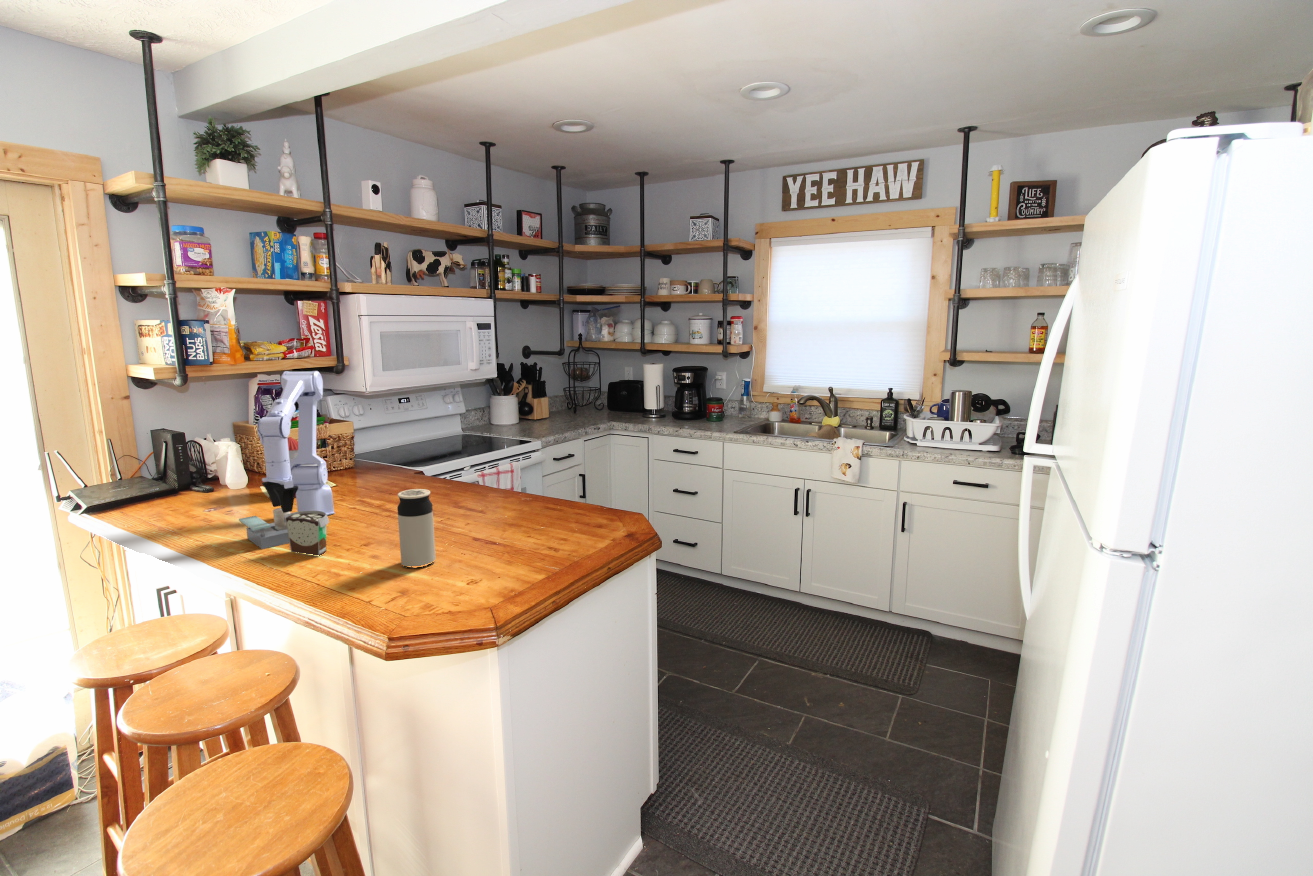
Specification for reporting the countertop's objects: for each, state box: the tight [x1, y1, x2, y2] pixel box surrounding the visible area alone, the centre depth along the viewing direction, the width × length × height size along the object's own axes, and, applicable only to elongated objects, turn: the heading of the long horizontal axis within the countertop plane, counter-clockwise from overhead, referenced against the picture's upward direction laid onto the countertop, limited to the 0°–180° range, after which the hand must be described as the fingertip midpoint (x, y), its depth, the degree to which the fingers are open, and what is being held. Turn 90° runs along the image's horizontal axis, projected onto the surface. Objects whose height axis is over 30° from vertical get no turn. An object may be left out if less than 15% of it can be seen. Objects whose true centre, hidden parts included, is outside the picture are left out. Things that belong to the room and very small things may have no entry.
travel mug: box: [397, 488, 437, 567], centre depth 155 cm, size 8×8×18 cm
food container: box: [284, 511, 330, 557], centre depth 164 cm, size 12×6×10 cm, turn 71°
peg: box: [272, 507, 291, 531], centre depth 175 cm, size 4×4×8 cm
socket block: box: [238, 515, 290, 550], centre depth 173 cm, size 14×12×6 cm
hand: (282, 509), depth 174 cm, fingers open, 7 cm apart
